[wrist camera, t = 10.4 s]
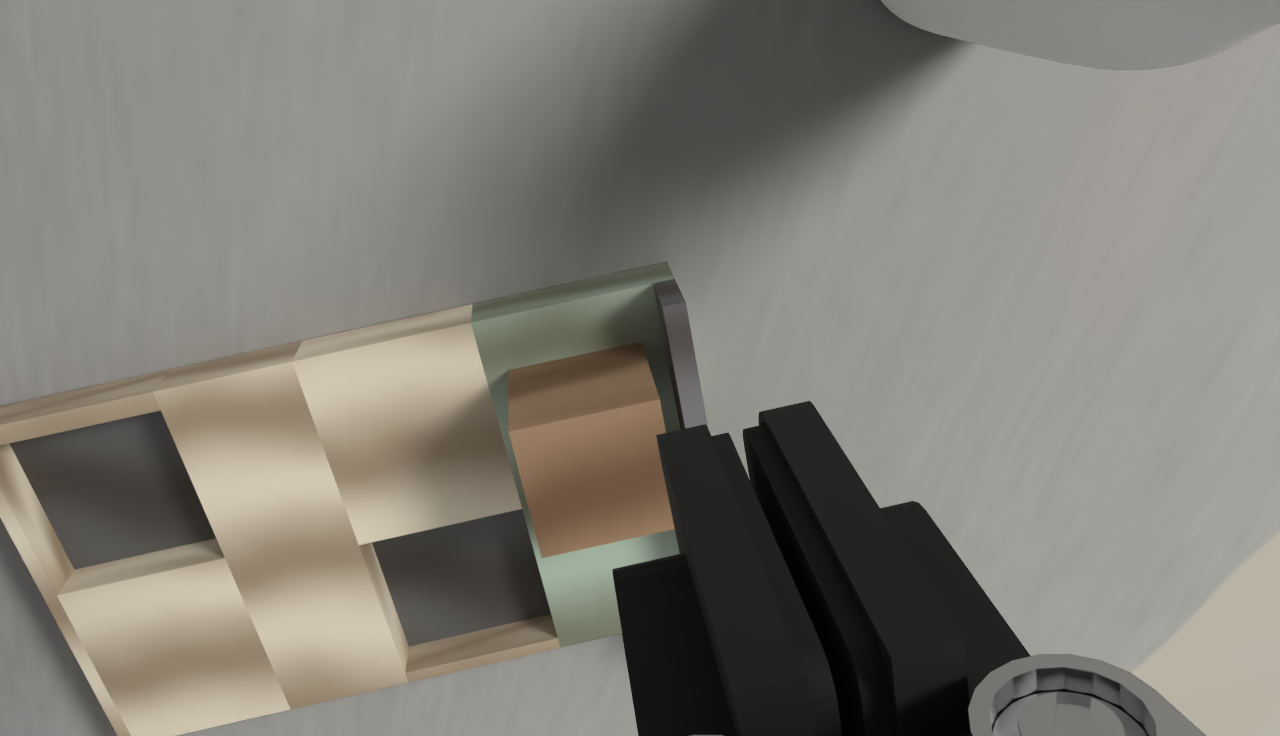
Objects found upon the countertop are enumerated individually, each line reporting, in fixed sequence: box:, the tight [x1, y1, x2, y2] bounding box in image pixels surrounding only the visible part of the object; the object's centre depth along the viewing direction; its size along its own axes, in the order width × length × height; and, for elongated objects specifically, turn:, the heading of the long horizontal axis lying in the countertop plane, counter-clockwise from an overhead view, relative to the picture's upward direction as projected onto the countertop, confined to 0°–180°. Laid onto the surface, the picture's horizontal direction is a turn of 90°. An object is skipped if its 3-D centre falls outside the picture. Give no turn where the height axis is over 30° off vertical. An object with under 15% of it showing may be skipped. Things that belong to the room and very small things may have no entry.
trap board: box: [0, 262, 708, 736], centre depth 39 cm, size 15×26×4 cm, turn 102°
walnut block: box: [508, 342, 675, 558], centre depth 36 cm, size 5×5×5 cm
